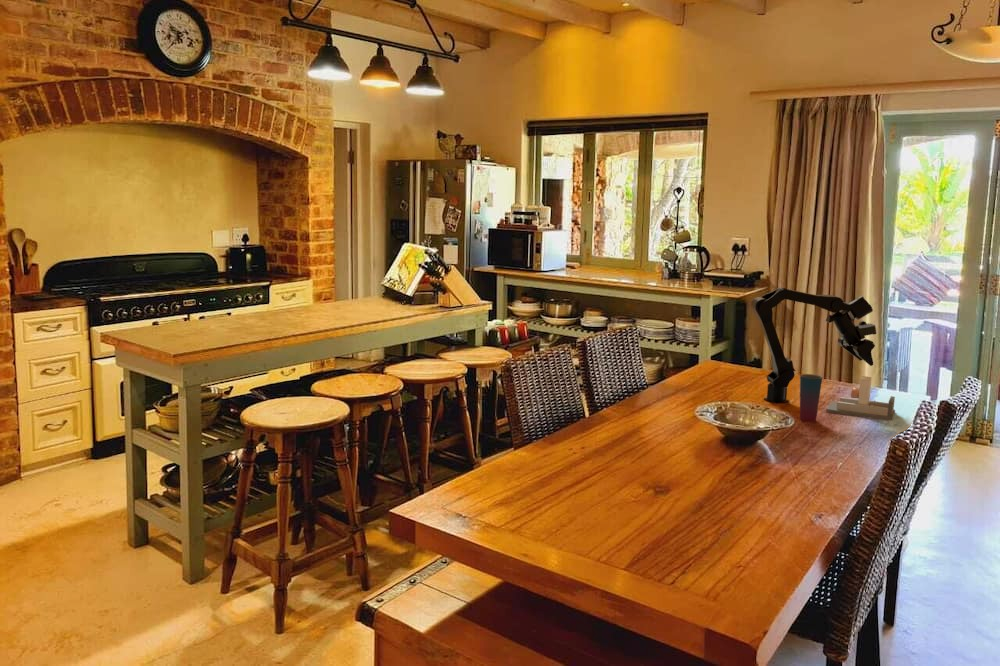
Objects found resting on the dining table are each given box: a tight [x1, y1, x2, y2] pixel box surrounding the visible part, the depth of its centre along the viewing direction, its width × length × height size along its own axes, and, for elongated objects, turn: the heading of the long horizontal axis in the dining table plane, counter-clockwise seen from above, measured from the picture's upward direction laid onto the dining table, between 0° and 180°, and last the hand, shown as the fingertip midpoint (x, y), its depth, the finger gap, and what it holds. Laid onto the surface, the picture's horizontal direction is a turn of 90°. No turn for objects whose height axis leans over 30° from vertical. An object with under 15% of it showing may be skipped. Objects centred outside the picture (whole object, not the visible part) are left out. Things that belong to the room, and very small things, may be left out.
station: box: [825, 395, 896, 422], centre depth 264 cm, size 20×12×6 cm, turn 59°
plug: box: [850, 375, 873, 405], centre depth 264 cm, size 6×5×11 cm
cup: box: [799, 373, 823, 423], centre depth 254 cm, size 7×7×15 cm
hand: (866, 362), depth 275 cm, fingers open, 9 cm apart
